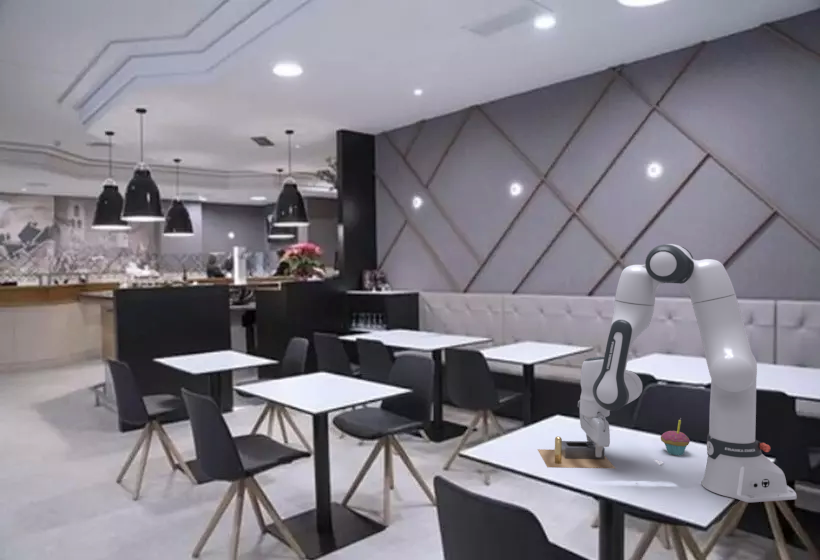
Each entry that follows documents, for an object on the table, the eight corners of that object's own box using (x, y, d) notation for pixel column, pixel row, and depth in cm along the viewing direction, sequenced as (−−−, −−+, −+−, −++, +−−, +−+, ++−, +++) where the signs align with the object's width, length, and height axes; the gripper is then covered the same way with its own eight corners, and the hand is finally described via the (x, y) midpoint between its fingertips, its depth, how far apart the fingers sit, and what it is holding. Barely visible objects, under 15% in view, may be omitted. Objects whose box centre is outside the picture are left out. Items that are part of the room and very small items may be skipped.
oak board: (599, 454, 184) (599, 450, 184) (615, 473, 168) (615, 468, 168) (537, 453, 185) (537, 449, 185) (547, 472, 169) (547, 467, 169)
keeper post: (560, 461, 174) (561, 435, 174) (562, 463, 172) (562, 437, 172) (554, 461, 174) (554, 435, 174) (555, 463, 172) (555, 437, 172)
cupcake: (695, 455, 184) (696, 418, 184) (675, 458, 181) (676, 421, 180) (674, 447, 192) (674, 412, 192) (654, 450, 189) (655, 414, 188)
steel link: (598, 452, 183) (598, 441, 183) (604, 459, 176) (604, 448, 176) (560, 451, 183) (560, 440, 183) (565, 458, 177) (565, 447, 176)
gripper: (615, 417, 168) (615, 463, 169) (595, 400, 189) (595, 441, 189) (594, 417, 169) (593, 463, 169) (576, 400, 189) (576, 441, 190)
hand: (594, 452), depth 179 cm, fingers closed on steel link, 7 cm apart
